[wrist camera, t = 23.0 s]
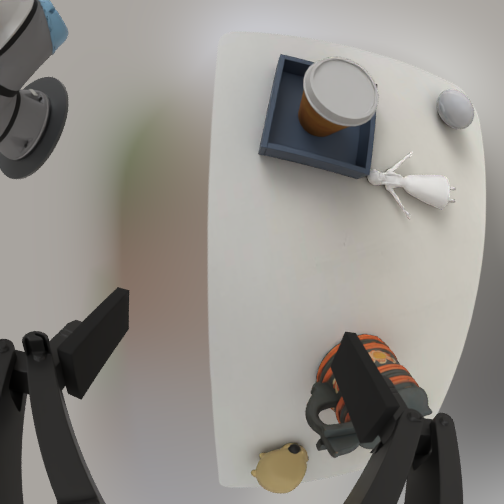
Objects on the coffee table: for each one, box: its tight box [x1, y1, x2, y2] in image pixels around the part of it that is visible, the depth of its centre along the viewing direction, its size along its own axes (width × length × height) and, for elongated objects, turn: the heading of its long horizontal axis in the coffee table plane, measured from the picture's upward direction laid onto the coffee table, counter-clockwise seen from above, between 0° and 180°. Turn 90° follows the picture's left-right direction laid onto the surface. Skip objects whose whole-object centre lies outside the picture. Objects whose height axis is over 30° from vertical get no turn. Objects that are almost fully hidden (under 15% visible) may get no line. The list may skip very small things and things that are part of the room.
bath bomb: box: [437, 89, 474, 129], centre depth 34 cm, size 8×8×8 cm
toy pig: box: [251, 443, 309, 493], centre depth 41 cm, size 10×12×11 cm
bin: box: [258, 54, 377, 179], centre depth 36 cm, size 16×16×5 cm
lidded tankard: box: [306, 334, 432, 458], centre depth 34 cm, size 19×15×20 cm
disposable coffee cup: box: [298, 57, 379, 137], centre depth 31 cm, size 10×10×12 cm
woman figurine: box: [367, 152, 455, 220], centre depth 38 cm, size 12×4×18 cm
